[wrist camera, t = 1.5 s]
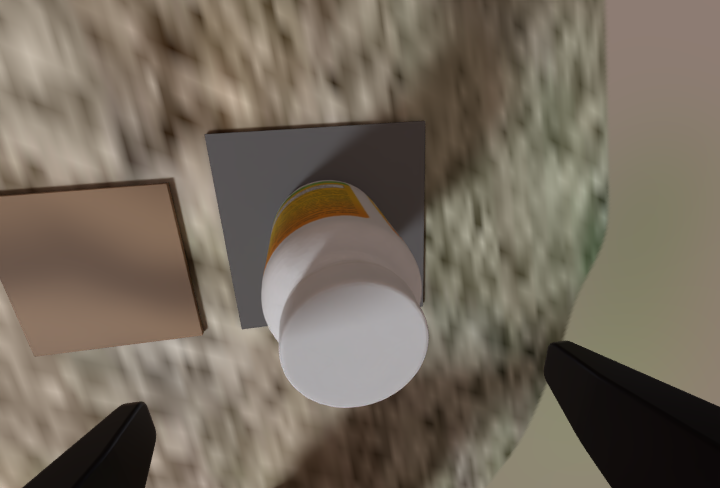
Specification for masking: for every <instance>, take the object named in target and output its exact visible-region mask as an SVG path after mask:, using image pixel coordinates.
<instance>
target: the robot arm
mask: <svg viewBox="0 0 720 488" xmlns="http://www.w3.org/2000/svg"><path fill="white" fill-rule="evenodd" d="M544 376H545V379H546V381H547V383H548V385H549V386H550V388H551V390H552V392H553V394H554V396H555V397H556V399H557V401H558V403H559V405H560V406H561V408H562V410H563V412H564V414H565V415H566V417H567V419H568V421H569V423H570V424H571V426H572V428H573V430H574V432H575V433H576V435H577V437H578V438H579V440H580V442H581V443H582V445H583V446H584V448H585V449H586V451H587V452H588V454H589V455H590V457H591V458H592V460H593V461H594V463H595V464H596V466H597V467H598V469H599V470H600V471H601V473H602V474H603V476H604V477H605V479H606V480H607V482H608V483H609V485H610V486H611V487H612V488H720V407H719V406H716V405H714V404H712V403H710V402H707V401H705V400H703V399H701V398H698V397H696V396H694V395H691V394H689V393H687V392H685V391H682V390H680V389H677V388H675V387H673V386H671V385H669V384H666V383H664V382H662V381H659V380H657V379H655V378H652V377H650V376H648V375H646V374H643V373H641V372H639V371H636V370H634V369H632V368H630V367H627V366H625V365H623V364H620V363H618V362H616V361H613V360H611V359H609V358H607V357H604V356H602V355H600V354H598V353H595V352H593V351H591V350H589V349H586V348H584V347H582V346H579V345H577V344H575V343H573V342H570V341H559V342H553V343H550V345H549V346H548V349H547V355H546V360H545V366H544ZM155 442H156V430H155V427H154V424H153V421H152V418H151V415H150V413H149V410H148V407H147V405H146V404H145V403H144V402H133V403H126V404H123V405H121V406H119V407H118V408H117V409H115V410H114V411H113V412H112V413H111V414H109V415H108V416H107V417H106V418H105V419H104V420H102V421H101V422H100V423H99V424H98V425H96V426H95V427H94V428H93V429H92V430H90V431H89V432H88V433H87V434H86V435H84V436H83V437H82V438H81V439H80V440H78V441H77V442H76V443H75V444H74V445H73V446H71V447H70V448H69V449H68V450H67V451H65V452H64V453H63V454H62V455H61V456H59V457H58V458H57V459H56V460H55V461H53V462H52V463H51V464H50V465H49V466H47V467H46V468H45V469H44V470H43V471H41V472H40V473H39V474H38V475H37V476H36V477H34V478H33V479H32V480H31V481H30V482H28V483H27V484H26V485H25V486H24V487H22V488H145V485H146V481H147V477H148V472H149V468H150V464H151V459H152V455H153V451H154V447H155Z"/></svg>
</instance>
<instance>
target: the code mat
mask: <svg viewBox="0 0 720 488" xmlns="http://www.w3.org/2000/svg"><path fill="white" fill-rule="evenodd" d="M205 140H206V145H207V150H208V155H209V160H210V166H211V171H212V176H213V181H214V187H215V192H216V197H217V202H218V207H219V213H220V218H221V223H222V228H223V233H224V239H225V244H226V249H227V254H228V259H229V265H230V270H231V275H232V280H233V285H234V291H235V296H236V301H237V306H238V311H239V317H240V322H241V327H242V329H248V328H256V327H263V326H268V325H267V322H266V320H265V317H264V314H263V309H262V301H261V291H262V280H263V274H264V269H265V264H266V259H267V254H268V249H269V244H270V238H271V232H272V227H273V223H274V220H275V217H276V214H277V212H278V210H279V208H280V206H281V205H282V203H283V202H284V201H285V200H286V199H287V197H288V196H289V195H291V194H292V193H293V192H294V191H296V190H297V189H298V188H300V187H302V186H304V185H306V184H309V183H312V182H316V181H322V180H335V181H341V182H345V183H348V184H351V185H353V186H355V187H357V188H358V189H360V190H361V191H362V192H364V193H365V194H366V195H367V196H368V197H369V198H370V199H371V200H372V201H373V202H374V203H375V205H376V206H377V207H378V208H379V210H380V211H381V213H382V214H383V215H384V216H385V218H386V219H387V220H388V222H389V223H390V224H391V226H392V227H393V228H394V230H395V231H396V232H397V233H398V235H399V236H400V237H401V238H402V240H403V241H404V242H405V244H406V245H407V246H408V248H409V250H410V251H411V253H412V255H413V257H414V259H415V261H416V263H417V265H418V268H419V272H420V276H421V283H422V295H421V302H420V307H421V306H423V256H424V179H425V121H415V122H398V123H382V124H365V125H349V126H332V127H316V128H299V129H283V130H266V131H250V132H233V133H217V134H205Z"/></svg>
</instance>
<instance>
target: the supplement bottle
mask: <svg viewBox="0 0 720 488" xmlns="http://www.w3.org/2000/svg"><path fill="white" fill-rule="evenodd" d="M421 295H422V283H421V276H420V272H419V268H418V265H417V263H416V261H415V259H414V257H413V255H412V253H411V251H410V250H409V248H408V246H407V245H406V244H405V242H404V241H403V240H402V238H401V237H400V236H399V235H398V233H397V232H396V231H395V230H394V228H393V227H392V226H391V224H390V223H389V222H388V220H387V219H386V218H385V216H384V215H383V214H382V213H381V211H380V210H379V208H378V207H377V206H376V205H375V203H374V202H373V201H372V200H371V199H370V198H369V197H368V196H367V195H366V194H365V193H364V192H362V191H361V190H360V189H358V188H357V187H355V186H353V185H351V184H348V183H345V182H341V181H335V180H322V181H316V182H312V183H309V184H306V185H304V186H302V187H300V188H298V189H297V190H296V191H294V192H293V193H292V194H291V195H289V196H288V197H287V199H286V200H285V201H284V202H283V203H282V205H281V206H280V208H279V210H278V212H277V214H276V217H275V220H274V223H273V227H272V232H271V238H270V244H269V249H268V254H267V259H266V264H265V269H264V274H263V280H262V291H261V301H262V309H263V314H264V317H265V320H266V322H267V325H268V327H269V329H270V331H271V332H272V334H273V335H274V337H275V338H276V339H277V341H278V342H279V358H280V362H281V366H282V369H283V371H284V373H285V375H286V377H287V379H288V380H289V382H290V383H291V384H292V385H293V387H294V388H295V389H296V390H298V391H299V392H300V393H301V394H303V395H304V396H305V397H307V398H309V399H311V400H313V401H315V402H317V403H320V404H324V405H327V406H332V407H340V408H351V407H360V406H365V405H370V404H373V403H376V402H379V401H382V400H384V399H386V398H388V397H390V396H391V395H393V394H395V393H396V392H398V391H399V390H400V389H402V388H403V387H404V386H405V385H406V384H407V383H409V381H410V380H411V379H412V378H413V377H414V376H415V374H416V373H417V372H418V370H419V368H420V367H421V365H422V363H423V361H424V358H425V355H426V352H427V348H428V340H429V332H428V325H427V321H426V318H425V316H424V313H423V311H422V309H421V308H420V302H421Z"/></svg>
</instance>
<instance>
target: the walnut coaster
mask: <svg viewBox="0 0 720 488" xmlns="http://www.w3.org/2000/svg"><path fill="white" fill-rule="evenodd" d="M0 279H1V282H2V284H3V286H4V288H5V291H6V293H7V295H8V297H9V300H10V302H11V304H12V307H13V309H14V311H15V313H16V316H17V318H18V320H19V322H20V325H21V327H22V329H23V331H24V334H25V336H26V338H27V341H28V343H29V345H30V347H31V350H32V352H33V354H34V356H35V357H36V356H44V355H52V354H59V353H67V352H75V351H83V350H91V349H99V348H107V347H114V346H122V345H130V344H138V343H146V342H154V341H161V340H169V339H177V338H185V337H193V336H201V335H203V333H204V331H203V327H202V322H201V318H200V314H199V310H198V305H197V301H196V297H195V293H194V289H193V284H192V280H191V276H190V272H189V267H188V263H187V259H186V255H185V250H184V246H183V242H182V238H181V233H180V229H179V225H178V221H177V217H176V212H175V208H174V204H173V200H172V195H171V191H170V187H169V183H158V184H145V185H132V186H119V187H106V188H92V189H79V190H66V191H53V192H40V193H27V194H13V195H0Z"/></svg>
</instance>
